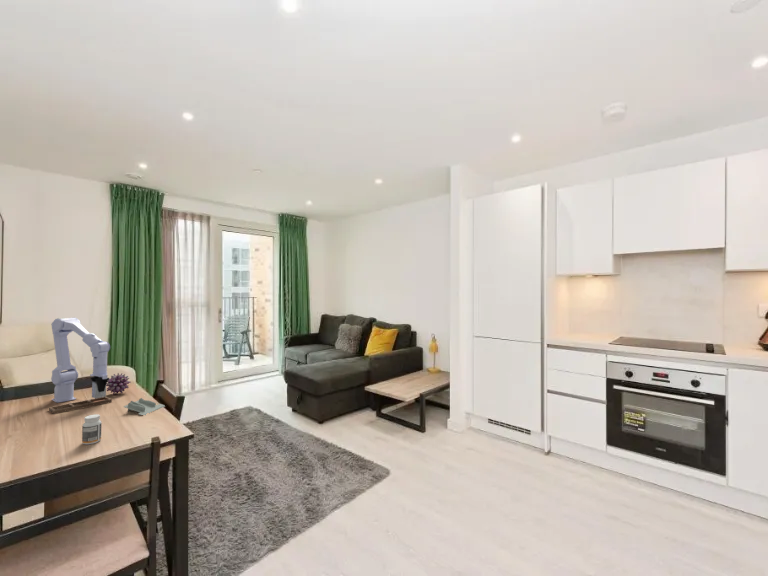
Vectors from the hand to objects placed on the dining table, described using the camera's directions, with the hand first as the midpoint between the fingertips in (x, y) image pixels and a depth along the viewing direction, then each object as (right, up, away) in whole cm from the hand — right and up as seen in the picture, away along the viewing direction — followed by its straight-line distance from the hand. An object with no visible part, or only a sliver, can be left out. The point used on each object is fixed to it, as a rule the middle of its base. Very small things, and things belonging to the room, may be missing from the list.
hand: (99, 390), depth 186 cm
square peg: (0, -3, 0) cm, 3 cm away
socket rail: (-4, -6, -6) cm, 10 cm away
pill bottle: (+37, -6, -49) cm, 62 cm away
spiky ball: (-2, -7, +16) cm, 17 cm away
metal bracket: (+31, -7, -12) cm, 34 cm away
